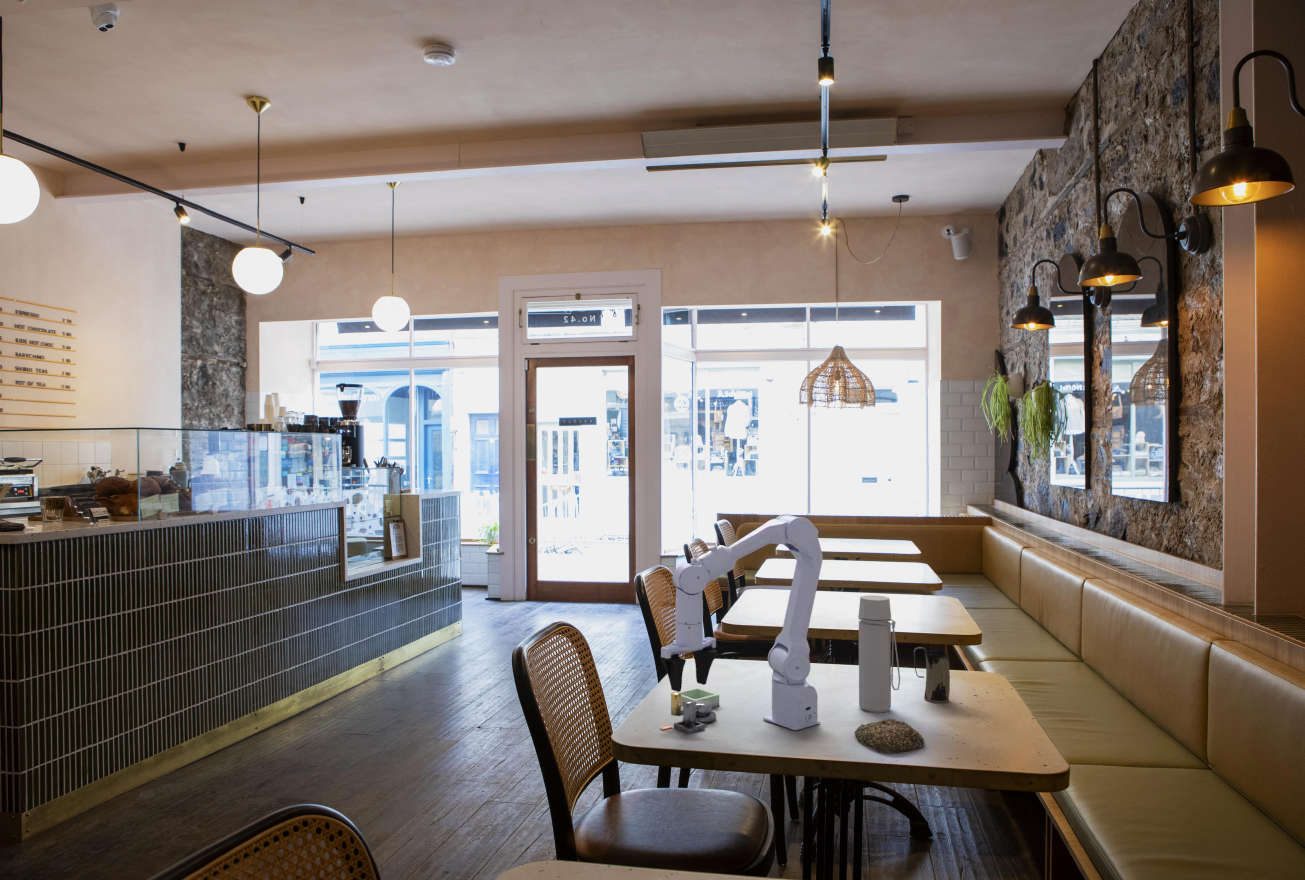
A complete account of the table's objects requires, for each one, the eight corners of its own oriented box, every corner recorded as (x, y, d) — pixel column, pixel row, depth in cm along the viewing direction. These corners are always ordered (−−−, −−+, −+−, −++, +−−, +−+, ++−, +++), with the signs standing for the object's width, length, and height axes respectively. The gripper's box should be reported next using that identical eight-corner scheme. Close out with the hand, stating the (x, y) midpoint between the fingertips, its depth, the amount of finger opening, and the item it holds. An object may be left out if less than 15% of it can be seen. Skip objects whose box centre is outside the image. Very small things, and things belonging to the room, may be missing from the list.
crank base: (730, 722, 181) (730, 717, 181) (678, 736, 172) (678, 731, 172) (701, 711, 188) (701, 707, 188) (650, 724, 179) (650, 720, 179)
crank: (700, 707, 187) (700, 682, 187) (716, 712, 183) (716, 687, 183) (664, 717, 180) (664, 691, 180) (680, 723, 176) (680, 696, 176)
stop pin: (698, 728, 176) (698, 702, 176) (688, 731, 175) (688, 704, 175) (689, 725, 178) (689, 699, 178) (680, 728, 177) (680, 701, 177)
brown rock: (878, 757, 161) (878, 731, 161) (846, 736, 173) (846, 711, 173) (937, 751, 164) (937, 725, 164) (902, 730, 176) (902, 706, 176)
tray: (719, 705, 192) (719, 694, 193) (694, 711, 188) (694, 700, 188) (697, 698, 198) (697, 687, 198) (673, 703, 194) (673, 693, 194)
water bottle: (854, 711, 188) (853, 599, 189) (862, 701, 195) (862, 593, 196) (896, 717, 184) (895, 602, 184) (903, 707, 191) (903, 596, 191)
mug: (948, 697, 199) (948, 646, 199) (951, 704, 194) (951, 651, 194) (913, 695, 201) (913, 644, 201) (915, 701, 196) (914, 649, 196)
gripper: (699, 614, 185) (699, 676, 185) (650, 623, 175) (650, 689, 175) (723, 619, 180) (723, 683, 179) (674, 628, 170) (674, 696, 169)
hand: (689, 686), depth 177 cm, fingers open, 7 cm apart
